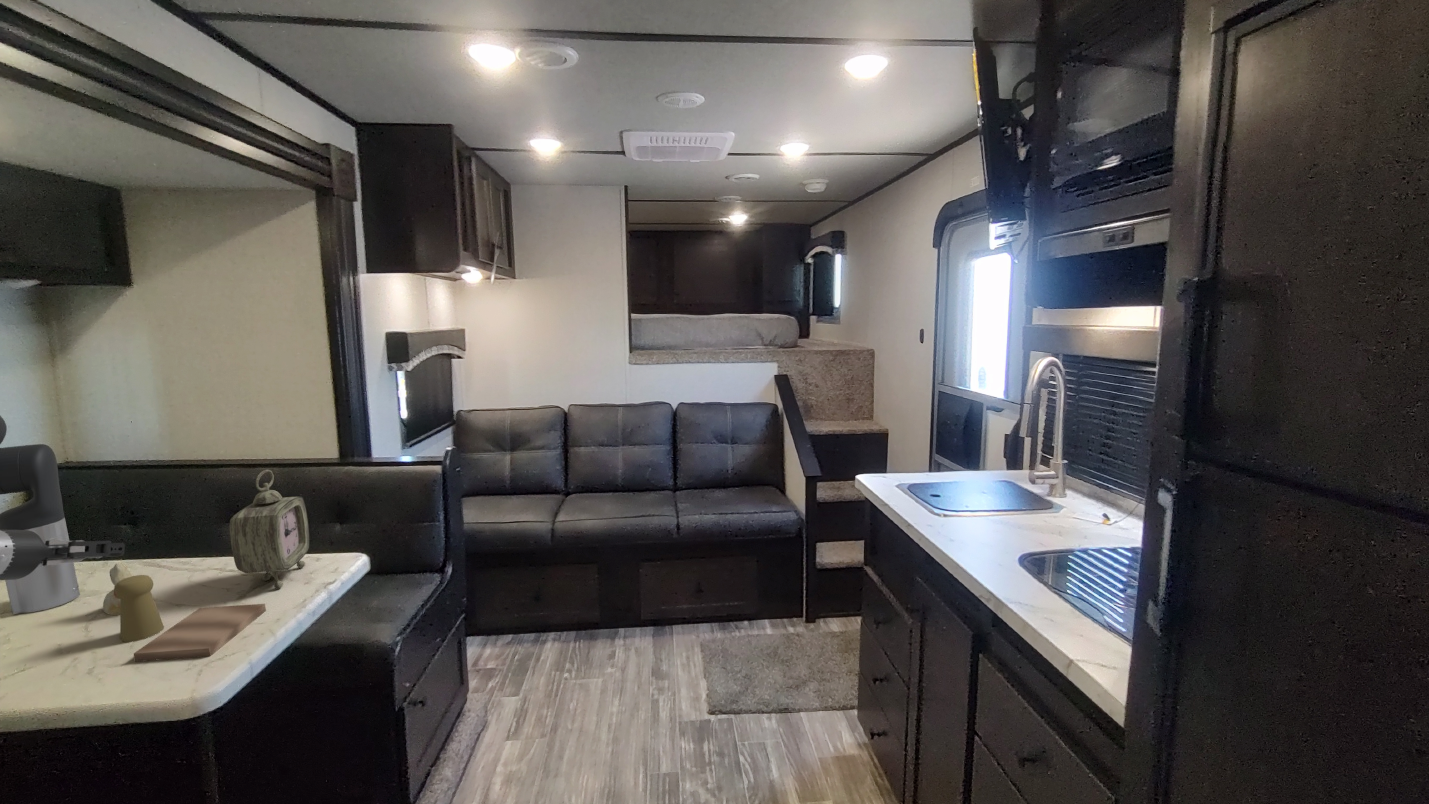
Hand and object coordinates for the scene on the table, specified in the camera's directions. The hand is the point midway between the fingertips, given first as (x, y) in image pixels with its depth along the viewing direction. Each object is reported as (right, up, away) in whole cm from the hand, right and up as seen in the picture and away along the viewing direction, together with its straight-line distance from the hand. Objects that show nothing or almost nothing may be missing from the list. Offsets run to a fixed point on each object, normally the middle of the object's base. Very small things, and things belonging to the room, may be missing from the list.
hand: (99, 552), depth 107 cm
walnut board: (+12, -17, +7) cm, 22 cm away
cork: (0, -17, +8) cm, 19 cm away
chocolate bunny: (-12, -16, +17) cm, 27 cm away
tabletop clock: (+10, -13, +30) cm, 34 cm away
